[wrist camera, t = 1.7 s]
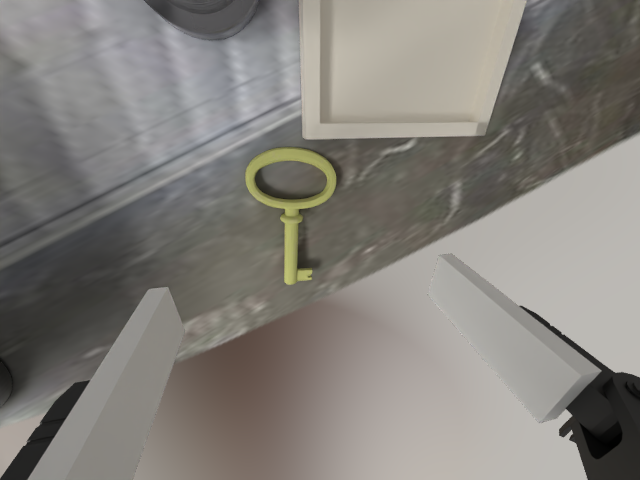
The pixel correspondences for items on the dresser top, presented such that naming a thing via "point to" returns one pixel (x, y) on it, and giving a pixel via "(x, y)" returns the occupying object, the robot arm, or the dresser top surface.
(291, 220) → the key
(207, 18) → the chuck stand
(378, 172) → the dresser top surface
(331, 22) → the tray
